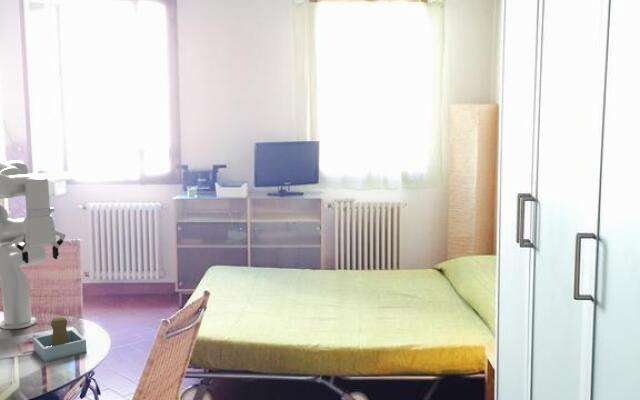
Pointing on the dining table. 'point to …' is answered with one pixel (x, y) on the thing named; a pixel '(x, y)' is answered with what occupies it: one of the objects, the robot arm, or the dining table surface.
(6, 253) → the robot arm
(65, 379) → the dining table surface
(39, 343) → the bin
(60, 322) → the cork
